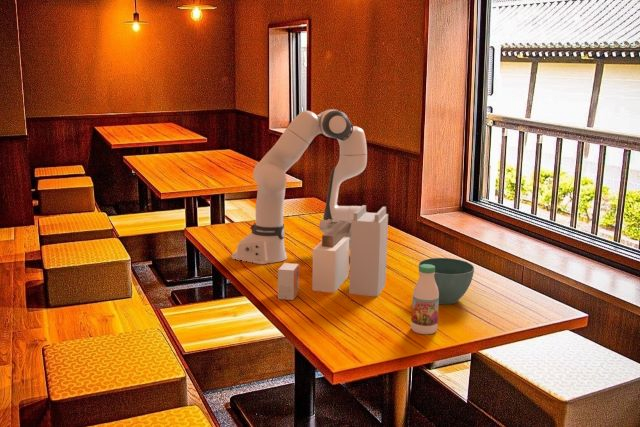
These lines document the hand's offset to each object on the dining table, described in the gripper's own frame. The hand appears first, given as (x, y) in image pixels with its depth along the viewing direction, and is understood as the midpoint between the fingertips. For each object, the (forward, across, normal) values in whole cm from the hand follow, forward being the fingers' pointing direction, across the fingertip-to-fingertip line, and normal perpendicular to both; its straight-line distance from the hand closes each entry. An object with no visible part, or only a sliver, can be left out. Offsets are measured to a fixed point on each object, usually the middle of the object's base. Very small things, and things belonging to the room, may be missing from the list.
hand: (341, 222), depth 247 cm
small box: (+17, -10, +33) cm, 39 cm away
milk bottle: (+30, +38, +40) cm, 63 cm away
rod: (+4, 0, +8) cm, 9 cm away
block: (+2, 0, +24) cm, 24 cm away
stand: (+4, +14, +25) cm, 29 cm away
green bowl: (+6, +41, +26) cm, 49 cm away
